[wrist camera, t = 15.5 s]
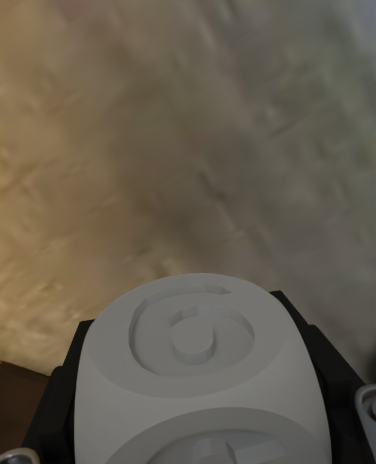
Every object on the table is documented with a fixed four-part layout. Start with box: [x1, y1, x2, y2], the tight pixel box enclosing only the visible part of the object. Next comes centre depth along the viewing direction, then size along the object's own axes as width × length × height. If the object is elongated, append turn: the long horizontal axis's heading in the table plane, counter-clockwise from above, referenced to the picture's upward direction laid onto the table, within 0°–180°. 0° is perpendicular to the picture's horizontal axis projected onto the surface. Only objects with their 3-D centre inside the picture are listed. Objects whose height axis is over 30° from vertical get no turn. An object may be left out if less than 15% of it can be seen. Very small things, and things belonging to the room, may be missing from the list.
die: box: [74, 273, 332, 464], centre depth 8 cm, size 5×5×5 cm
